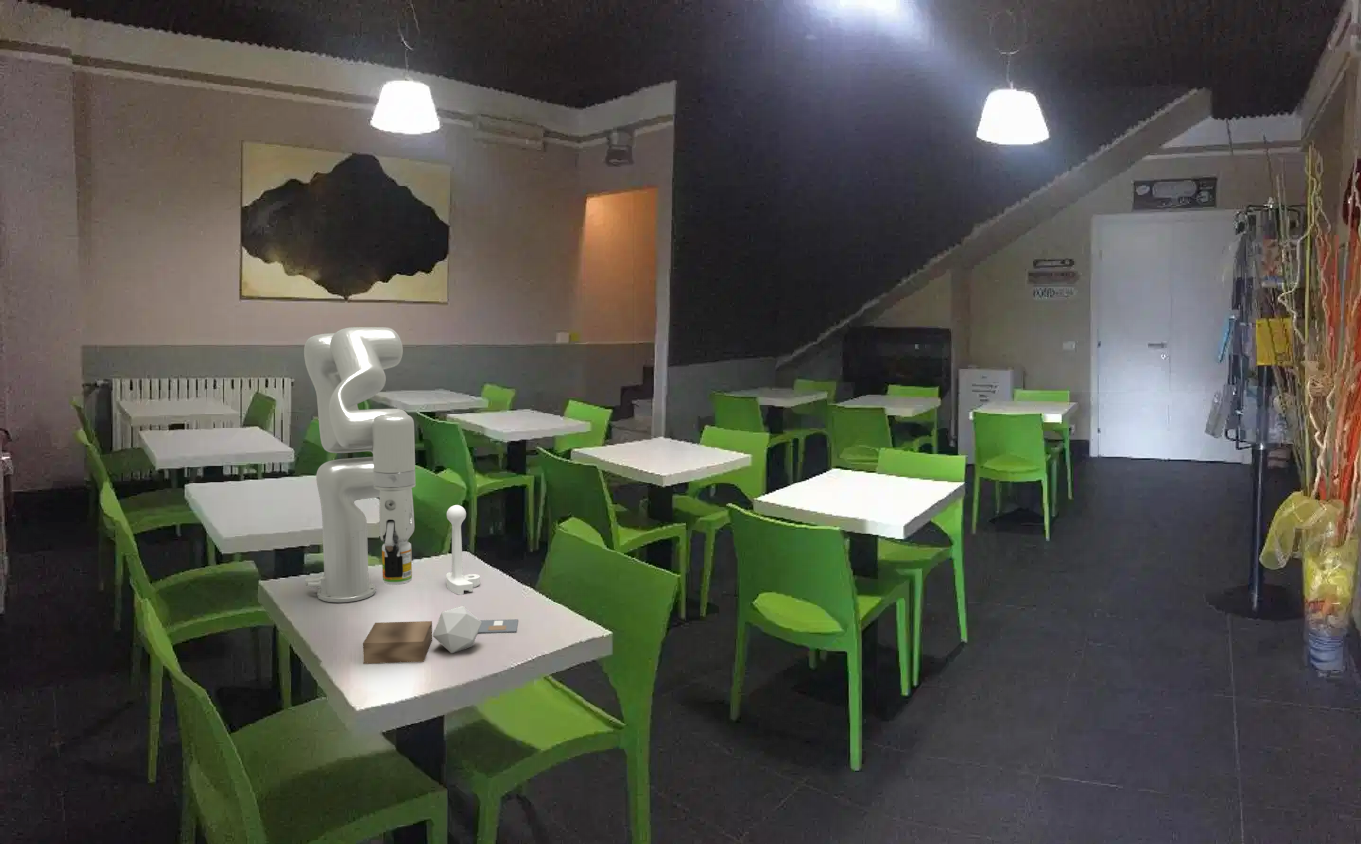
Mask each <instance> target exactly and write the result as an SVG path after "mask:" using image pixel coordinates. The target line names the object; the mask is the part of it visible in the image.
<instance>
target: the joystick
mask: <svg viewBox="0 0 1361 844" xmlns="http://www.w3.org/2000/svg"><path fill="white" fill-rule="evenodd" d="M466 517H467V512H466V509H465V508H464V507H463V506H461V505H459V504H455V505H452V506H450V507H449V508H448V509H447V511H446V519H447V520H448V521H449V522H450V523H451V572H447V573H446V576H445V577H446V587H447V589H448V590H449V591H450V592H451V593H454V594H455V595H459V596H462V595H464V594H465V593H464V591H466V592H473V591H474V589H473V588H476V587H479V585H480V584H481V576H480V574H475V573H474V574H473V573H469V574H464V567H463V563H464V562H463V547H462V546H463V545H462V544H463V543H462V542H463V541H462V523H463V522H464V521H465V520H466Z"/></svg>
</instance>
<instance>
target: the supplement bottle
mask: <svg viewBox="0 0 1361 844" xmlns="http://www.w3.org/2000/svg"><path fill="white" fill-rule="evenodd" d="M394 540H398V537H394ZM394 545H396V547H397V544H394ZM401 556H403V576H402V577H390V578H387V577H385V559H384V557H385V542H383V544H382V546H381V558H382V559H381V564H382V565H381V567H382V581H383V584H386V585H390V586H398V585H405V584H407V583H410V582H411V581H412V580H413V564H412V563H413V561H412V559H413V558H412V556H413V555H412V543H410V542H409V540H408V541H405V542H404V541H403V540H401Z"/></svg>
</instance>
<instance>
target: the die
mask: <svg viewBox="0 0 1361 844" xmlns="http://www.w3.org/2000/svg"><path fill="white" fill-rule="evenodd" d="M480 620H481V619H479V618H478V617H477V616H476V615H474V614H473V613H472V612H471V611H470V610H469V609H468V608H466V607H465V606H464V605H461V606H457V607H453V608H451V609H447V610H444V611H441V614H440V615H439V619H438V621H437V624H436V626H435V629H434V632H433V633H432V638H433V639H435V640H436V641H437V642H438V643H440V644H441V646H443V647H444V648H445V649H446V650H447V651H448V652H450V653H451V654H454V653H458V652H459V651H463V650H465V649H468V648H471V647H473V646H474V643H475V641H476V638H477V636H478V631H479V628H480V626H481V623H482V622H481V621H480Z"/></svg>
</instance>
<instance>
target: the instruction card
mask: <svg viewBox="0 0 1361 844" xmlns="http://www.w3.org/2000/svg"><path fill="white" fill-rule="evenodd" d="M479 620H480V621H481V622H482V623H481V626H480V628H479V631H478V634H500V633H501V634H507V633H508V634H509V633H511V634H512V633H514V634H515V633H517V631H518V624H519V619H518V618H517V619H511V618H510V619H484V620H483V619H479ZM478 634H477V635H478Z"/></svg>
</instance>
